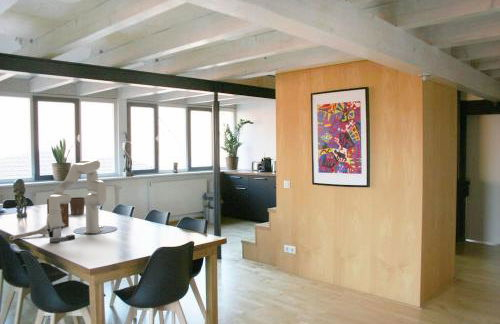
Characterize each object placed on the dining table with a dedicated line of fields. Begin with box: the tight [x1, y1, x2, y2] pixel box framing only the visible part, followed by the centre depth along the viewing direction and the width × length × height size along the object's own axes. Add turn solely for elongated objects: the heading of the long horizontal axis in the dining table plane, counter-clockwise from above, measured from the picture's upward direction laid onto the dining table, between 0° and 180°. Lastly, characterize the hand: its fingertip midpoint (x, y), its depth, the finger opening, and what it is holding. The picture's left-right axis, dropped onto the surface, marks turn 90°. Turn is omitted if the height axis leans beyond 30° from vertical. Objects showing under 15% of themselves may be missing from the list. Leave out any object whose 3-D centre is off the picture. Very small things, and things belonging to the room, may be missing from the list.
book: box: [46, 198, 70, 228], centre depth 359 cm, size 16×6×25 cm, turn 129°
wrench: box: [9, 225, 49, 241], centre depth 321 cm, size 8×2×30 cm
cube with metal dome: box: [48, 227, 62, 239], centre depth 306 cm, size 6×6×8 cm
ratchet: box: [49, 234, 76, 244], centre depth 311 cm, size 18×7×8 cm, turn 147°
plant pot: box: [69, 196, 86, 216], centre depth 425 cm, size 16×16×16 cm
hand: (54, 236), depth 306 cm, fingers closed on cube with metal dome, 6 cm apart
